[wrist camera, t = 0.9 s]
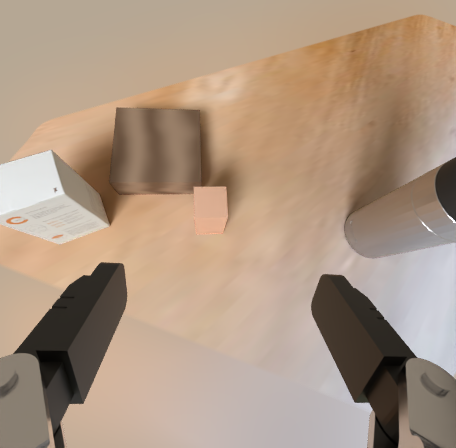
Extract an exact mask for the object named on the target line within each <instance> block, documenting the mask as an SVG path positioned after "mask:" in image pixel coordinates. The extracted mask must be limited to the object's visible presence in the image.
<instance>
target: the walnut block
mask: <svg viewBox="0 0 456 448" xmlns="http://www.w3.org/2000/svg"><path fill="white" fill-rule="evenodd" d="M109 183H110V184H111V185H112V186H113V187H114V189H115V190H116V191H117V192H118V193H119V194H120V195H134V194H194V187H201V145H200V110H177V109H147V108H116V118H115V129H114V139H113V149H112V159H111V170H110V180H109Z"/></svg>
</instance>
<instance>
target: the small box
mask: <svg viewBox="0 0 456 448" xmlns="http://www.w3.org/2000/svg"><path fill="white" fill-rule="evenodd" d="M0 224H1V225H4V226H7V227H10V228H13V229H16V230H18V231H21V232H24V233H27V234H30V235H33V236H36V237H39V238H42V239H45V240H48V241H51V242H54V243H57V244H63V243H66V242H68V241H71V240H74V239H77V238H79V237H82V236H85V235H87V234H90V233H93V232H95V231H98V230H101V229H103V228H106V227H109V226H110V224H109V221H108V218H107V215H106V212H105V209H104V207H103V204H102V200H101V197H100V194H99V193H98V192H97V191H96V190H95V189H94V188H92V187H91V186H90V185H89V184H88V183H87V182H86V181H85V180H84V179H83V178H82V177H81V176H79V175H78V174H77V173H76V172H75V171H74V170H73V169H72V168H71V167H70V166H69V165H67V164H66V163H65V162H64V161H63V160H62V159H61V158H60V157H59V156H58V155H57V154H55V153H54V152H53V151H52V150H48V151H45V152H41V153H38V154H35V155H31V156H28V157H24V158H21V159H17V160H14V161H10V162H7V163H3V164H0Z"/></svg>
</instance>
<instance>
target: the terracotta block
mask: <svg viewBox="0 0 456 448" xmlns="http://www.w3.org/2000/svg"><path fill="white" fill-rule="evenodd" d="M227 219H228V209H227V191H226V187H194V221H195V229H196V234H223V231H224V228H225V225H226V222H227Z"/></svg>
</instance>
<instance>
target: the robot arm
mask: <svg viewBox="0 0 456 448" xmlns="http://www.w3.org/2000/svg"><path fill="white" fill-rule="evenodd" d="M345 235H346V238H347V240H348V242H349V244H350V245H351V247H352V248H353V249H354V250H355V251H356V252H357V253H359V254H361V255H362V256H365V257H368V258H380V257H385V256H390V255H395V254H400V253H405V252H410V251H415V250H420V249H425V248H430V247H435V246H440V245H445V244H450V243H455V242H456V157H455V158H453V159H452V160H450V161H448V162H446V163H444V164H442V165H440V166H439V167H437V168H435V169H433V170H431V171H429V172H427V173H425V174H424V175H422V176H420V177H418V178H416V179H415V180H413V181H411V182H409V183H407V184H405V185H403V186H401V187H400V188H398V189H396V190H394V191H392V192H390V193H388V194H387V195H385V196H383V197H381V198H379V199H377V200H375V201H373V202H372V203H370V204H368V205H366V206H364V207H362V208H360V209H359V210H357V211H355V212H353V213H352V214H351V215H349V217H348V218H347V220H346V223H345ZM126 302H127V288H126V279H125V270H124V265H123V264H122V263H104V262H101V263H100V264H99V265H98V266H97V267H96V269H95V270H94V271H93V273H92V274H91V276H87V275H83V276H82V277H80V278H79V279H77V280H76V281H75V282H73V283H72V284H70V285H69V286H68V287H67V289H66V290H65V291H64V292H63V294H62V295H61V296H60V299H58V300H57V301H56V302H55V304H54V305H53V306H52V309H50V310H49V311H48V312H47V313H46V314H45V316H44V317H43V318H42V320H41V321H40V322H39V323H38V324H37V326H36V327H35V328H34V329H33V331H32V332H31V333H30V334H29V335H28V337H27V338H26V339H25V340H24V342H23V343H22V344H21V345H20V346H19V348H18V349H17V350H16V351H15V352H14V353H13V354H12V355H8V356H5V357H2V358H0V448H67V445H66V439H65V434H64V429H63V423H62V418H63V416H64V414H65V412H66V410H67V408H68V406H69V404H83V403H84V401H85V399H86V396H87V394H88V392H89V390H90V387H91V385H92V383H93V381H94V378H95V376H96V374H97V371H98V369H99V367H100V365H101V362H102V360H103V358H104V356H105V353H106V351H107V349H108V346H109V344H110V342H111V339H112V337H113V335H114V333H115V330H116V328H117V326H118V324H119V321H120V319H121V317H122V315H123V312H124V310H125V307H126ZM376 309H377V308H376V307H375V306H374V305H373V304H372V302H371V301H370V300H369V299H368V297H366V296H365V295H364V294H362V293H361V292H360V291H358V290H357V289H356V288H353V287H352V286H351V284H350V283H349V282H348V281H347V279H346V278H345V277H344V276H342V275H329V274H323V275H322V276H321V278H320V280H319V283H318V286H317V288H316V291H315V294H314V297H313V300H312V304H311V310H312V315H313V318H314V320H315V322H316V324H317V326H318V328H319V330H320V332H321V334H322V336H323V338H324V340H325V342H326V344H327V346H328V348H329V351H330V353H331V355H332V357H333V359H334V361H335V363H336V365H337V367H338V369H339V371H340V373H341V375H342V377H343V379H344V381H345V383H346V386H347V388H348V390H349V392H350V394H351V396H352V398H353V400H354V402H355V403H370V405H371V407H372V409H373V410H372V412H371V414H370V418H369V419H370V420H369V431H368V444H367V448H456V380H455V379H454V378H453V377H452V376H451V375H450V374H449V373H448V372H446V371H445V370H444V369H442V368H441V367H439V366H438V365H436V364H434V363H432V362H430V361H427V360H424V359H421V358H417V357H416V356H415V354H414V353H413V352H412V351H411V350H410V348H409V347H408V346H407V345H406V344H405V342H404V341H403V340H402V339H401V337H400V336H399V335H398V334H397V333H396V331H395V330H394V329H393V328H392V327H391V325H390V324H389V323H388V322H387V320H384V317H383V316H382V314H381V313H380V312H379V311H377V310H376Z"/></svg>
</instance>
